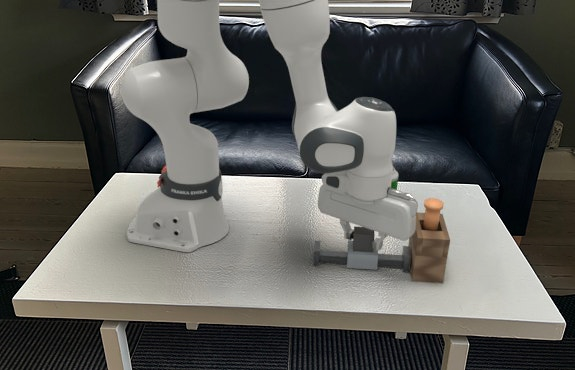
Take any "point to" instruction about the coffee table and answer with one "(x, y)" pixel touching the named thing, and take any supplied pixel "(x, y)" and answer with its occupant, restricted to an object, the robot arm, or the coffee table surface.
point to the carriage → (362, 250)
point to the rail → (342, 256)
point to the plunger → (432, 214)
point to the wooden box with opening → (429, 251)
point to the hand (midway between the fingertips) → (362, 243)
